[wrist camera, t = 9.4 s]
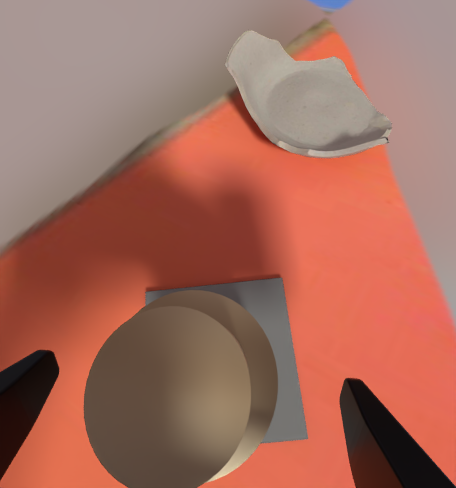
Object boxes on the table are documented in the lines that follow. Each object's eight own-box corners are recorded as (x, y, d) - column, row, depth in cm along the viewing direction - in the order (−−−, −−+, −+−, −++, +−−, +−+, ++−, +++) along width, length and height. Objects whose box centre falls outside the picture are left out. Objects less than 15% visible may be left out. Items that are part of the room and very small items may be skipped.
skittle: (244, 422, 16) (243, 620, 5) (163, 386, 17) (-9, 476, 5) (272, 333, 17) (323, 315, 6) (196, 303, 18) (116, 240, 7)
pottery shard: (379, 187, 21) (418, 141, 16) (227, 187, 21) (221, 144, 17) (362, 78, 24) (390, 14, 19) (230, 83, 25) (226, 22, 20)
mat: (307, 437, 16) (308, 439, 15) (146, 452, 16) (145, 453, 16) (281, 278, 19) (282, 277, 18) (147, 292, 19) (145, 291, 19)
